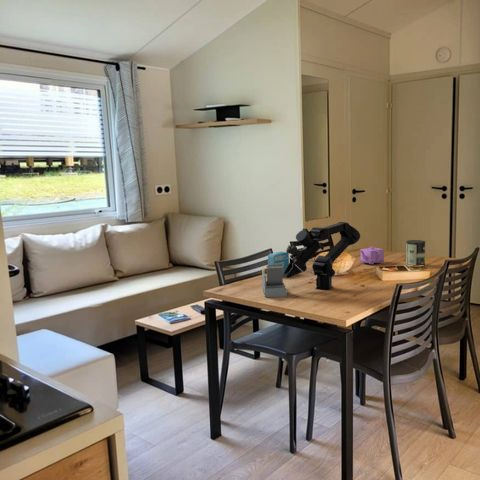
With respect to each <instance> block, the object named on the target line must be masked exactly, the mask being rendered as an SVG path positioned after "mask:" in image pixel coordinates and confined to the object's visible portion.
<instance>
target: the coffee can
mask: <svg viewBox="0 0 480 480" xmlns="http://www.w3.org/2000/svg"><path fill="white" fill-rule="evenodd" d="M405 244H406V247H405V248H406V251H405V253H406V260H405V261H406V262H405V264H406V263H407V264H412V265H425V266H426V240H422V239H409V240H406V241H405Z"/></svg>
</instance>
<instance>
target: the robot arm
mask: <svg viewBox="0 0 480 480" xmlns="http://www.w3.org/2000/svg"><path fill="white" fill-rule="evenodd" d="M335 234H339V235H340V240H338V242H337V243H336V244H335V245H334V246H333V247H332V248H331V249H330V250H329V251H328V252H327V253H326V255H318V256H317V258H315V259H314V260H313V263H312V265H311V266H312V270H313V271H312V272H313V275H314V276H316V278H315V282H316V283H315V286H316V287H315V290H326V291H329V290H331V289H333V288H334V286H333V283H332V282H333V281H332V280H333V279H332V278H333V277H335V274H336V271H335V270H334V269H333V264H334V263H335V261H336V260H337V259H338V258H339V257H340V256H341V254H343V252H344V251H345V250H346V249H347V248H348V247H350V246H353V245H355V244H357V242H359V241H360V239H361V234H360V232H359V231H358V229H357V228H355V227H353V226H352V225H350V223H349V222H345V221H339V222H337V223H334V224H330V225H327V226H323V227H319V226H317V227H315V226H314V227H312V228H311V230H308V229H307V228H302V229H301V230H300V231H299V232H298V233H297V234H296V235H295V239H296V241H297V242H298V243H300V244H301V245H302V246H303V247H300V248H297V247H296V246H294V245H293V246H292V245H290V244H288V246H287V248H286V250H285V252H287V253H288V254H289V264H288V266H287V268H286V270H285V271H284V273H285V275H286V276H285V277H286V278H287V279H289V278H292V277H294V276H296V275H299V274H301V273H305V271H307V269H308V268H307V267H308V266H307V262H309V261H310V260H312V258H313V256H314V255H315V254H316V253H317V252H318V251H319V250H322V251H324V249H325V248H324V245H325V244H324V243H323V242H322V241H325V240H327V239H329V237H330V236H332V235H335ZM320 241H321V242H320ZM287 273H288V274H287Z"/></svg>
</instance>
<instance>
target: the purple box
mask: <svg viewBox="0 0 480 480" xmlns="http://www.w3.org/2000/svg"><path fill="white" fill-rule="evenodd" d="M359 252H360V263H362V262H365V263H369V264H368V265H370V264H374V263H380V262H383V263H384V262H385V249H383V248H378V247H375V246H374V245H373V246H370V247H368V248H360V250H359ZM365 263H364V264H365ZM380 264H381V263H380ZM374 265H375V264H374Z"/></svg>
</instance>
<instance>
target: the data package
mask: <svg viewBox="0 0 480 480" xmlns="http://www.w3.org/2000/svg"><path fill="white" fill-rule="evenodd" d="M289 258H290V254H289V253H287V252H286V251H279V252H273V253H268V255H267V265H282V276H283V275H284V274H285V273H284V271H285V270H286V268H287V266H288V264H289V263H290V260H289ZM287 274H288V273H287ZM287 274H285V275H287Z"/></svg>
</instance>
